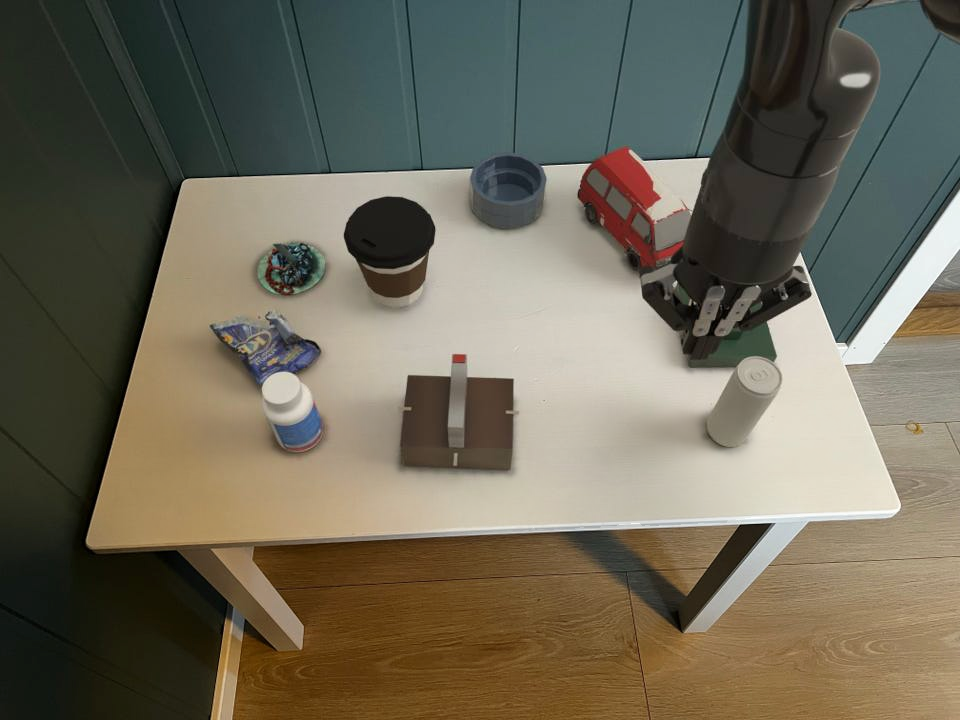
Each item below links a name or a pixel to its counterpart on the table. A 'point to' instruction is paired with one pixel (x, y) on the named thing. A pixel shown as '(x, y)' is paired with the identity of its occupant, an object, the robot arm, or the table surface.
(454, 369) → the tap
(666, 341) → the table surface
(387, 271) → the coffee cup
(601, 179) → the toy car
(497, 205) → the grey round pet bowl
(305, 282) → the dish
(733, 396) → the beverage can
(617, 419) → the table surface
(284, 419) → the pill bottle
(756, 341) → the green button base
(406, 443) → the base
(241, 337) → the snack package
